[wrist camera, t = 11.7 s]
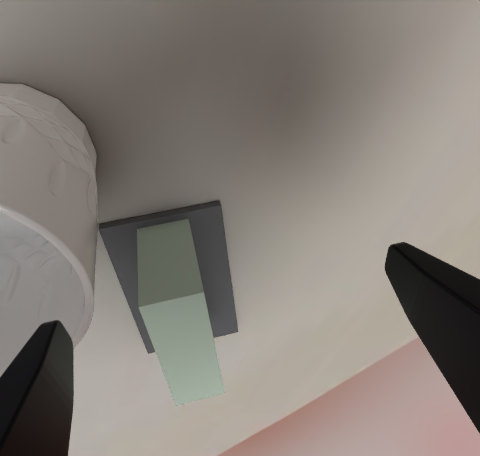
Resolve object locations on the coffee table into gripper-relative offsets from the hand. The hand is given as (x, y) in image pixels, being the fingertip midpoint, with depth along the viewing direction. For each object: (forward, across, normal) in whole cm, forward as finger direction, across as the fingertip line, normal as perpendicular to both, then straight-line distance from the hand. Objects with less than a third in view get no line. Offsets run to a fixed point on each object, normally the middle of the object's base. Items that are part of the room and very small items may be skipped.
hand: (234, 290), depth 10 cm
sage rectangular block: (+11, +2, +10) cm, 15 cm away
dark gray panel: (+12, +2, +11) cm, 16 cm away
